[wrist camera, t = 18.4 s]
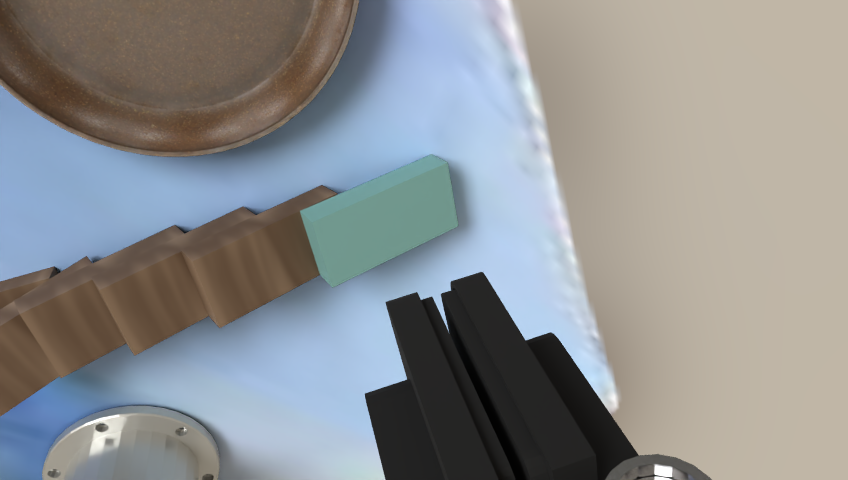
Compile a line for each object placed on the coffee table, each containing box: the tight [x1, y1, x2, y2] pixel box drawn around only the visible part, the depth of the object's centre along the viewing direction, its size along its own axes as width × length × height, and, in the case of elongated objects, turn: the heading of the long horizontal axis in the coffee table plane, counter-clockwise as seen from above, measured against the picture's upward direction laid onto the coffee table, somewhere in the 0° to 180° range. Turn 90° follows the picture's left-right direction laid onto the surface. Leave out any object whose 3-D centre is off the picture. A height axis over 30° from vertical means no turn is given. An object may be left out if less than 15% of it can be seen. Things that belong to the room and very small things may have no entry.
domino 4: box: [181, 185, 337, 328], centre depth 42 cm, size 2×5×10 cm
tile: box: [300, 154, 458, 288], centre depth 44 cm, size 2×5×10 cm
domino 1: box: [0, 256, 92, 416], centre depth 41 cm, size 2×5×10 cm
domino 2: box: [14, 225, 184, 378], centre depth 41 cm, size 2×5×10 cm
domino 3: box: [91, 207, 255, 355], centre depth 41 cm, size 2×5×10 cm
